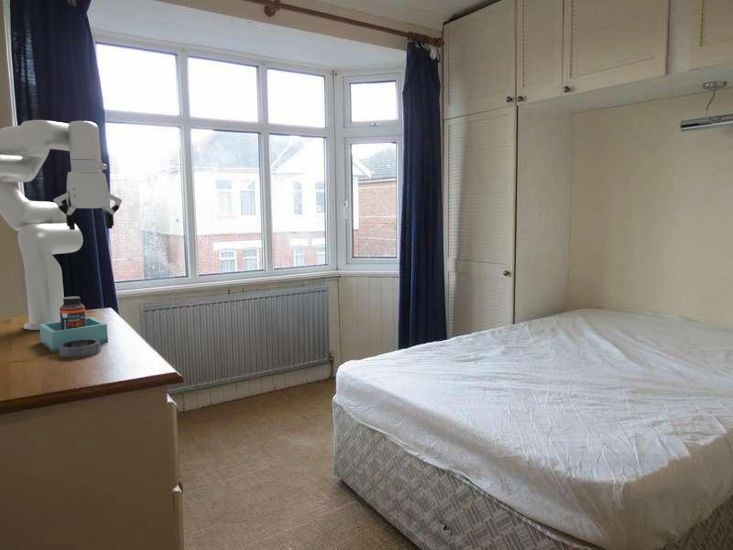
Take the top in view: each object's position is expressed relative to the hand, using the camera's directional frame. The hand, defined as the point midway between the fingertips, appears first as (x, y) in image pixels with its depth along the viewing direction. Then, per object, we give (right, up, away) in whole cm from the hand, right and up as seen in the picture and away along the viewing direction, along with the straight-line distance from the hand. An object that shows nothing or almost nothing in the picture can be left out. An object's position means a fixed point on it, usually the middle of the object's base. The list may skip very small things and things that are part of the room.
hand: (91, 229), depth 143 cm
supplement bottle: (-1, -31, -6) cm, 31 cm away
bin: (-1, -31, -6) cm, 32 cm away
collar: (+6, -33, -17) cm, 37 cm away
